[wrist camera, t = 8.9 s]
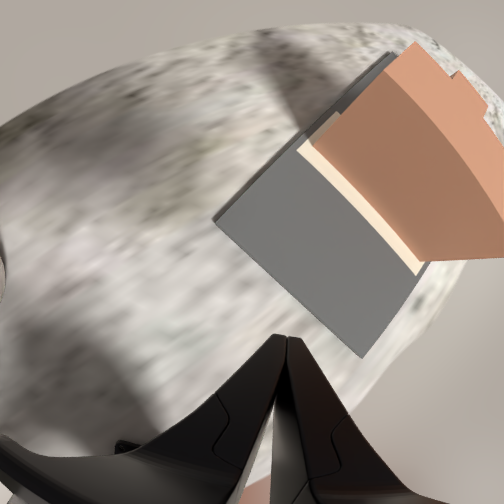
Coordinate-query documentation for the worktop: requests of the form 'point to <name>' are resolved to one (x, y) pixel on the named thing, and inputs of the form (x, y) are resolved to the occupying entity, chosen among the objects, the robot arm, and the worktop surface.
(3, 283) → the plastic bottle
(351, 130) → the t block
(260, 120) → the worktop surface
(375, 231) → the mat
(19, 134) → the worktop surface
